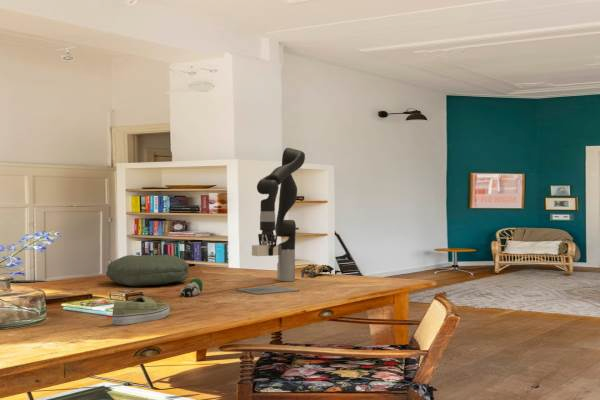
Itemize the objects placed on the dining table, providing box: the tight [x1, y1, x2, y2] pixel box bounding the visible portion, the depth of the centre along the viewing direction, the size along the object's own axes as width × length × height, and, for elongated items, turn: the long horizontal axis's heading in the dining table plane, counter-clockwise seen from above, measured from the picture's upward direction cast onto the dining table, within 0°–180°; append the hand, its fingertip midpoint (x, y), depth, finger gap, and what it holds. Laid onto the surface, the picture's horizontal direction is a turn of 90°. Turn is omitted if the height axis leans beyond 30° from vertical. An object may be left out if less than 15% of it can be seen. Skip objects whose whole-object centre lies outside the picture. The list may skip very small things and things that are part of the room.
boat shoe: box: [111, 295, 171, 326], centre depth 275 cm, size 10×29×9 cm, turn 154°
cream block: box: [251, 243, 281, 257], centre depth 359 cm, size 5×5×14 cm
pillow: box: [105, 254, 190, 287], centre depth 388 cm, size 43×15×41 cm
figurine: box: [300, 263, 334, 278], centre depth 430 cm, size 19×6×30 cm
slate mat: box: [235, 285, 300, 296], centre depth 360 cm, size 20×24×1 cm
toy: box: [179, 278, 203, 298], centre depth 343 cm, size 9×7×15 cm
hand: (267, 255), depth 360 cm, fingers closed on cream block, 5 cm apart
